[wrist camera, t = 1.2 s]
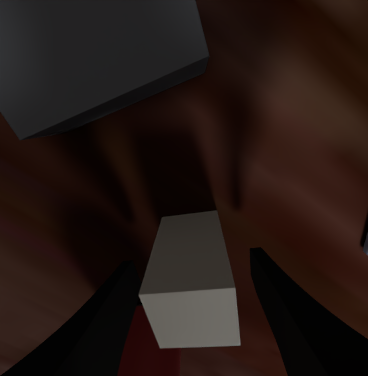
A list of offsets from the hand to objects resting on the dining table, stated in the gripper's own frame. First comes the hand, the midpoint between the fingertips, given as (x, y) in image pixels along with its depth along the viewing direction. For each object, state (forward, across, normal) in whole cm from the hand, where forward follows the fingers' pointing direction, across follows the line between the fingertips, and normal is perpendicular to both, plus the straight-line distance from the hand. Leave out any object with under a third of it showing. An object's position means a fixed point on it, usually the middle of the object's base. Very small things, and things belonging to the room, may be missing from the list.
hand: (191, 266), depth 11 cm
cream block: (+3, 0, 0) cm, 3 cm away
